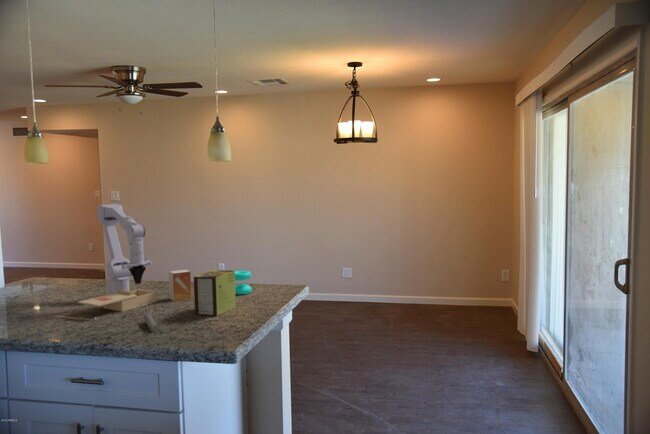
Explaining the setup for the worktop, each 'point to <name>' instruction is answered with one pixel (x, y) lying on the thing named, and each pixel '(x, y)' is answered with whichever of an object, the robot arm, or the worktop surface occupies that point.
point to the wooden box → (133, 300)
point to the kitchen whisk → (148, 319)
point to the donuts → (242, 287)
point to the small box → (180, 285)
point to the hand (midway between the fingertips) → (137, 283)
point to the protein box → (214, 292)
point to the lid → (109, 298)
